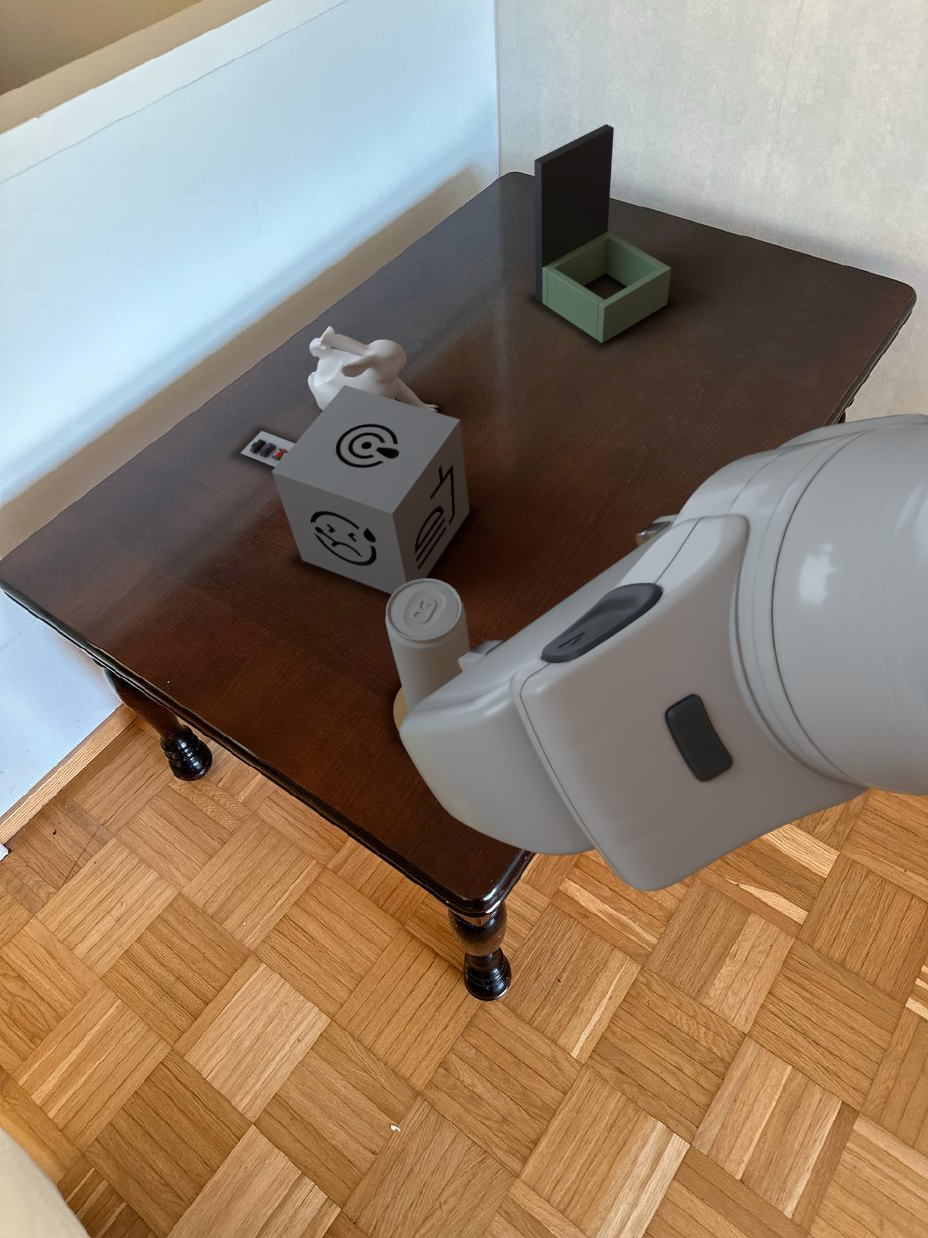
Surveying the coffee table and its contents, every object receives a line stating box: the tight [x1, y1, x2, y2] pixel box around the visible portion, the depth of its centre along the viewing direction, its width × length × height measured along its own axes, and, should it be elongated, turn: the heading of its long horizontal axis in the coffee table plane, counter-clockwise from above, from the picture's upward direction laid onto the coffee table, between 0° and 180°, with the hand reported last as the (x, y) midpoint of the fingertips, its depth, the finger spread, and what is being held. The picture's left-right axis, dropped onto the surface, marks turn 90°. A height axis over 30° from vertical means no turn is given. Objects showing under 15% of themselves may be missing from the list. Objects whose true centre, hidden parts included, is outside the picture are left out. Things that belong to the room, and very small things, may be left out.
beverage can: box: [385, 578, 471, 712], centre depth 58 cm, size 5×5×12 cm
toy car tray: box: [240, 430, 296, 468], centre depth 79 cm, size 3×8×1 cm, turn 60°
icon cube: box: [271, 385, 470, 595], centre depth 69 cm, size 10×10×10 cm
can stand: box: [533, 123, 672, 344], centre depth 83 cm, size 10×9×14 cm
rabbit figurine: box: [307, 326, 439, 413], centre depth 78 cm, size 12×8×10 cm, turn 62°
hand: (569, 603), depth 37 cm, fingers open, 8 cm apart
